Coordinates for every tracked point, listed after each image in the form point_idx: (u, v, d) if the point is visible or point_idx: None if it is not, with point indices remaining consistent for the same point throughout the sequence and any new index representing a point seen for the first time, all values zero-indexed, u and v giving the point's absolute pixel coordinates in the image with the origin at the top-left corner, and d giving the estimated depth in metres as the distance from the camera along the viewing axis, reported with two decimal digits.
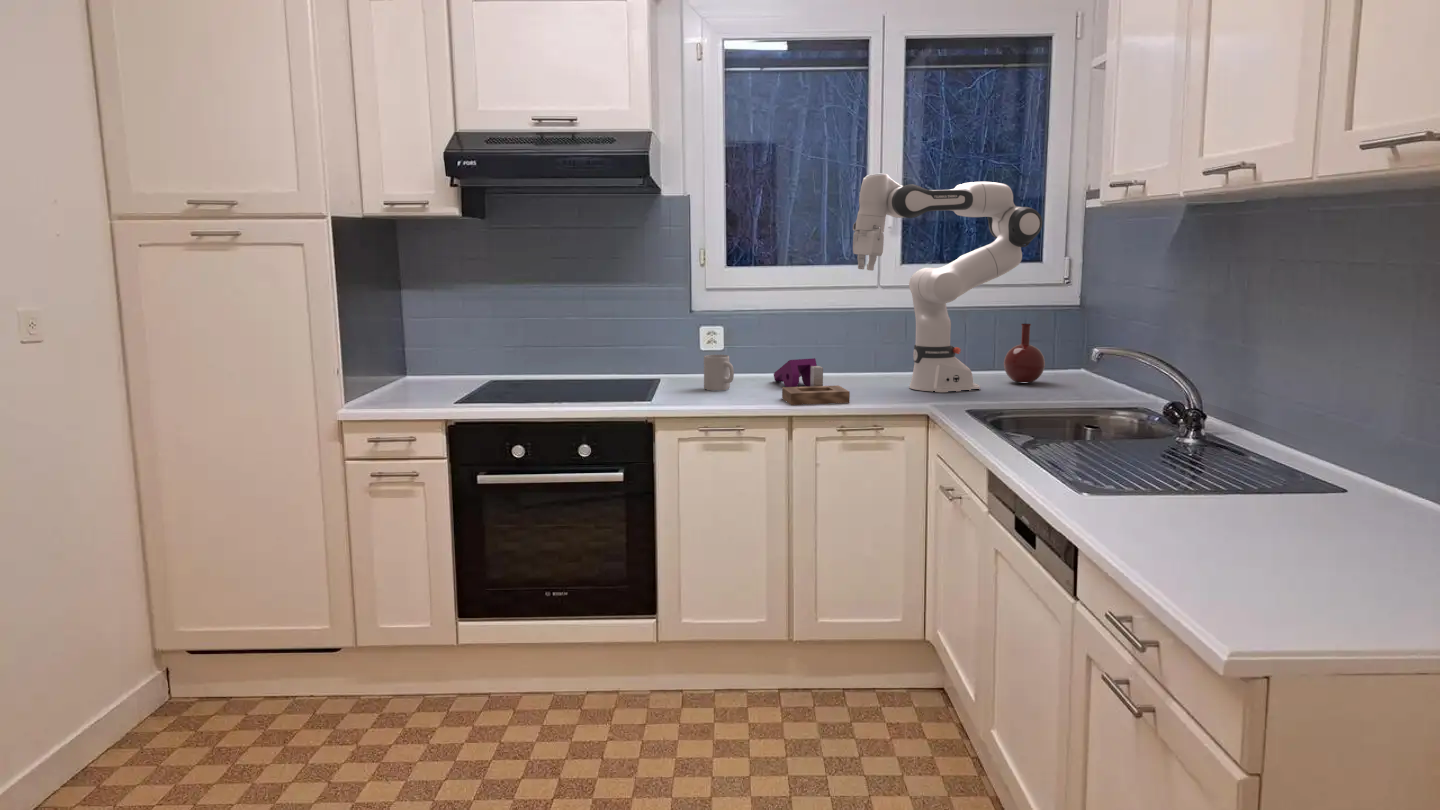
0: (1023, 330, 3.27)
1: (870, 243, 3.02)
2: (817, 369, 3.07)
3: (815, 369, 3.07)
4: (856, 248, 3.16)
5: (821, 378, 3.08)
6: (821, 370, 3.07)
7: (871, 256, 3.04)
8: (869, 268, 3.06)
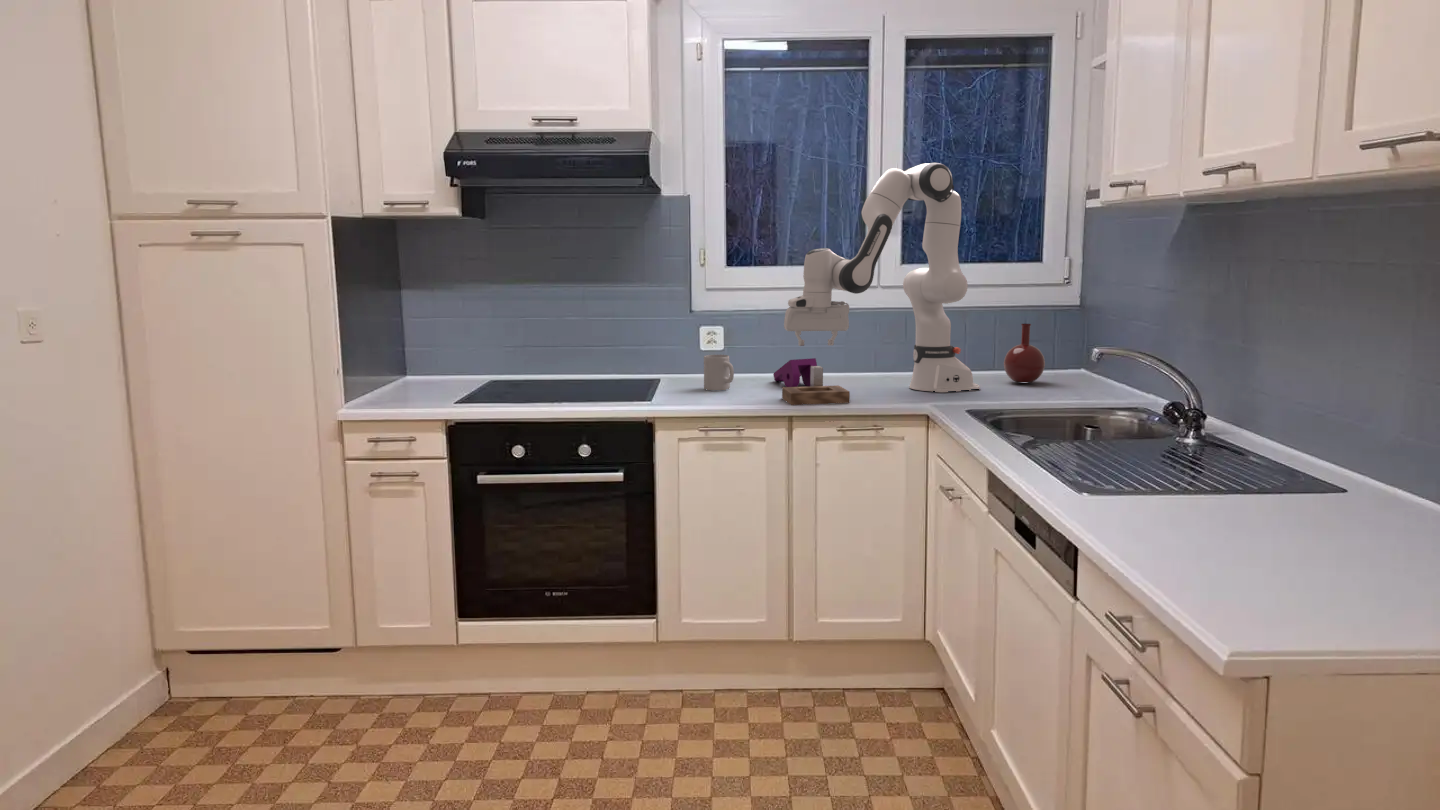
0: (1023, 330, 3.27)
1: (842, 319, 3.06)
2: (817, 369, 3.07)
3: (815, 369, 3.07)
4: (797, 325, 3.04)
5: (821, 378, 3.08)
6: (821, 370, 3.07)
7: None
8: None
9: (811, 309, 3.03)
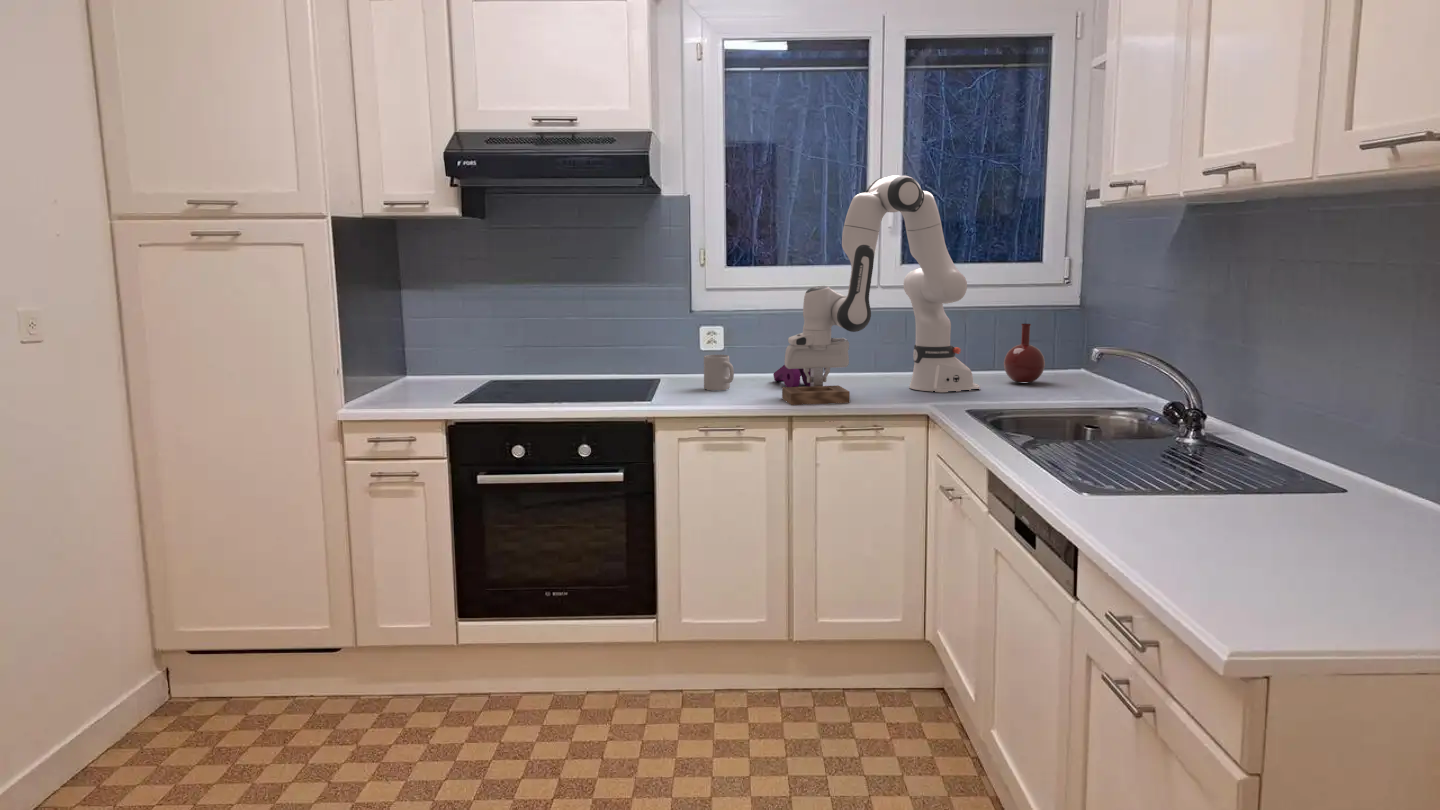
0: (1023, 330, 3.27)
1: (842, 356, 3.08)
2: (817, 369, 3.07)
3: (815, 369, 3.07)
4: (798, 363, 3.06)
5: (821, 378, 3.08)
6: (821, 370, 3.07)
7: None
8: None
9: (811, 347, 3.05)
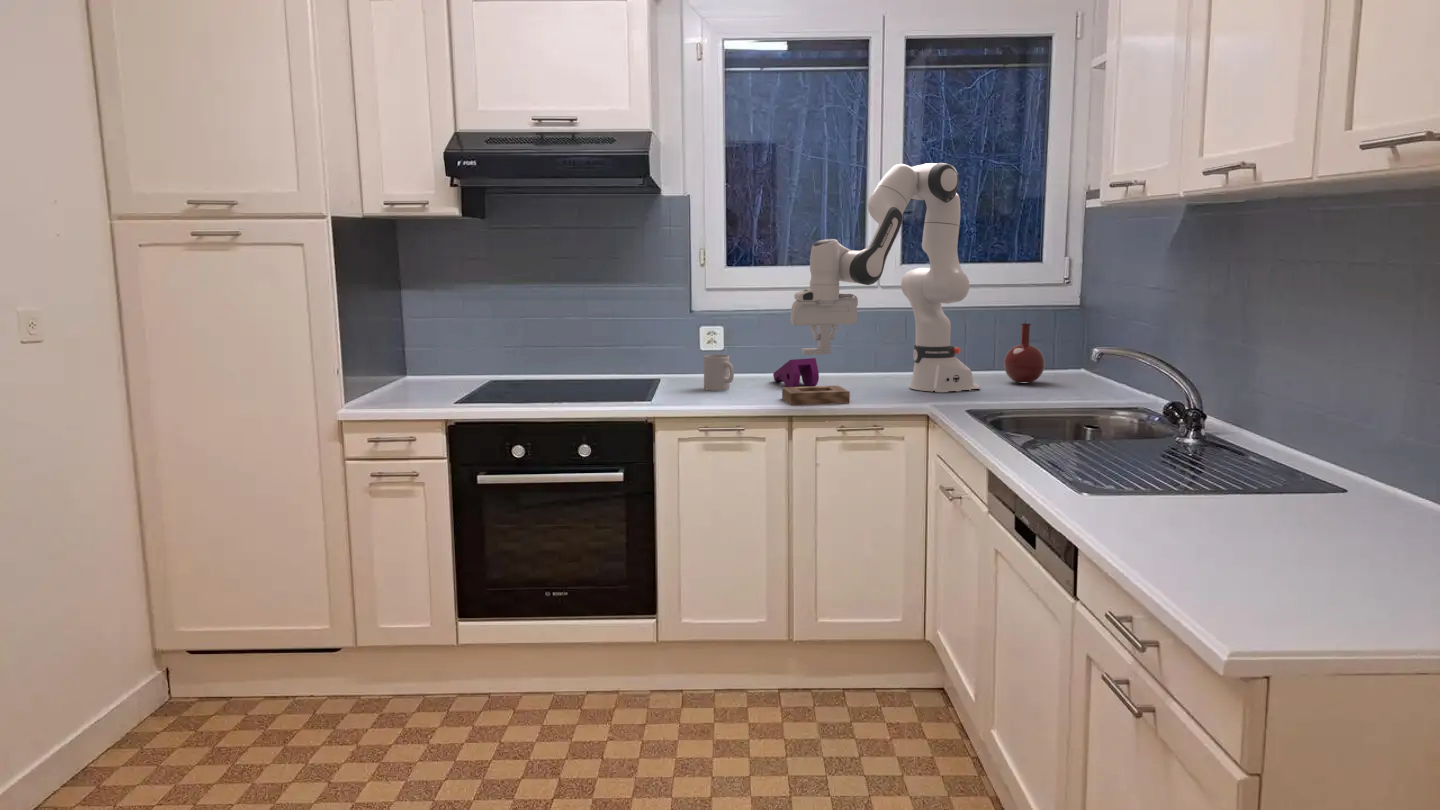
0: (1023, 330, 3.27)
1: (850, 312, 2.96)
2: (824, 326, 2.95)
3: (822, 326, 2.95)
4: (804, 319, 2.94)
5: (829, 335, 2.95)
6: (829, 327, 2.95)
7: None
8: None
9: (818, 302, 2.93)
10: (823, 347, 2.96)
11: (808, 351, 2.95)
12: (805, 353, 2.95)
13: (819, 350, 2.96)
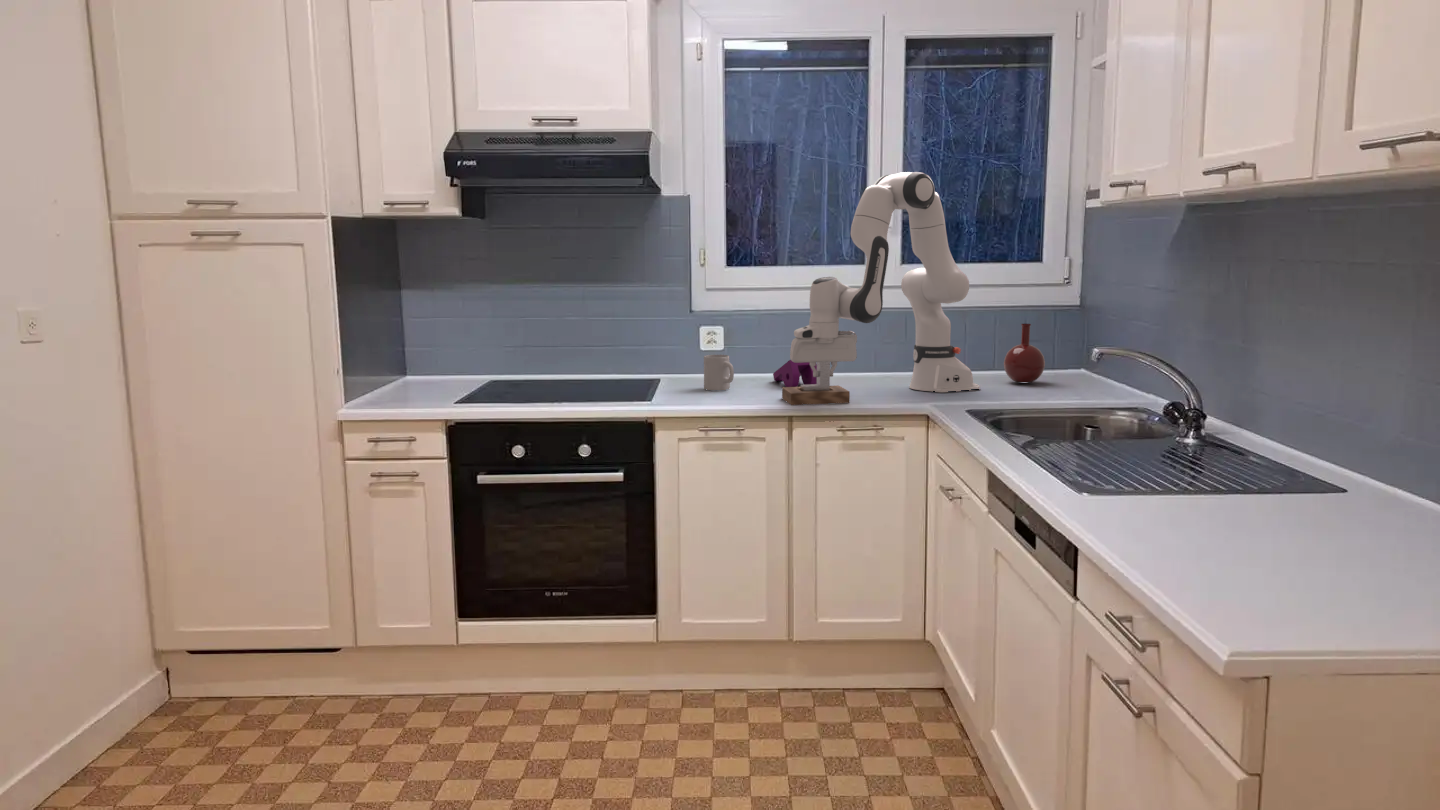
0: (1023, 330, 3.27)
1: (849, 349, 2.97)
2: (824, 363, 2.97)
3: (822, 363, 2.97)
4: (804, 356, 2.95)
5: (828, 372, 2.97)
6: (828, 364, 2.97)
7: None
8: None
9: (818, 340, 2.95)
10: (822, 384, 2.98)
11: (807, 388, 2.97)
12: (804, 390, 2.97)
13: (818, 387, 2.98)
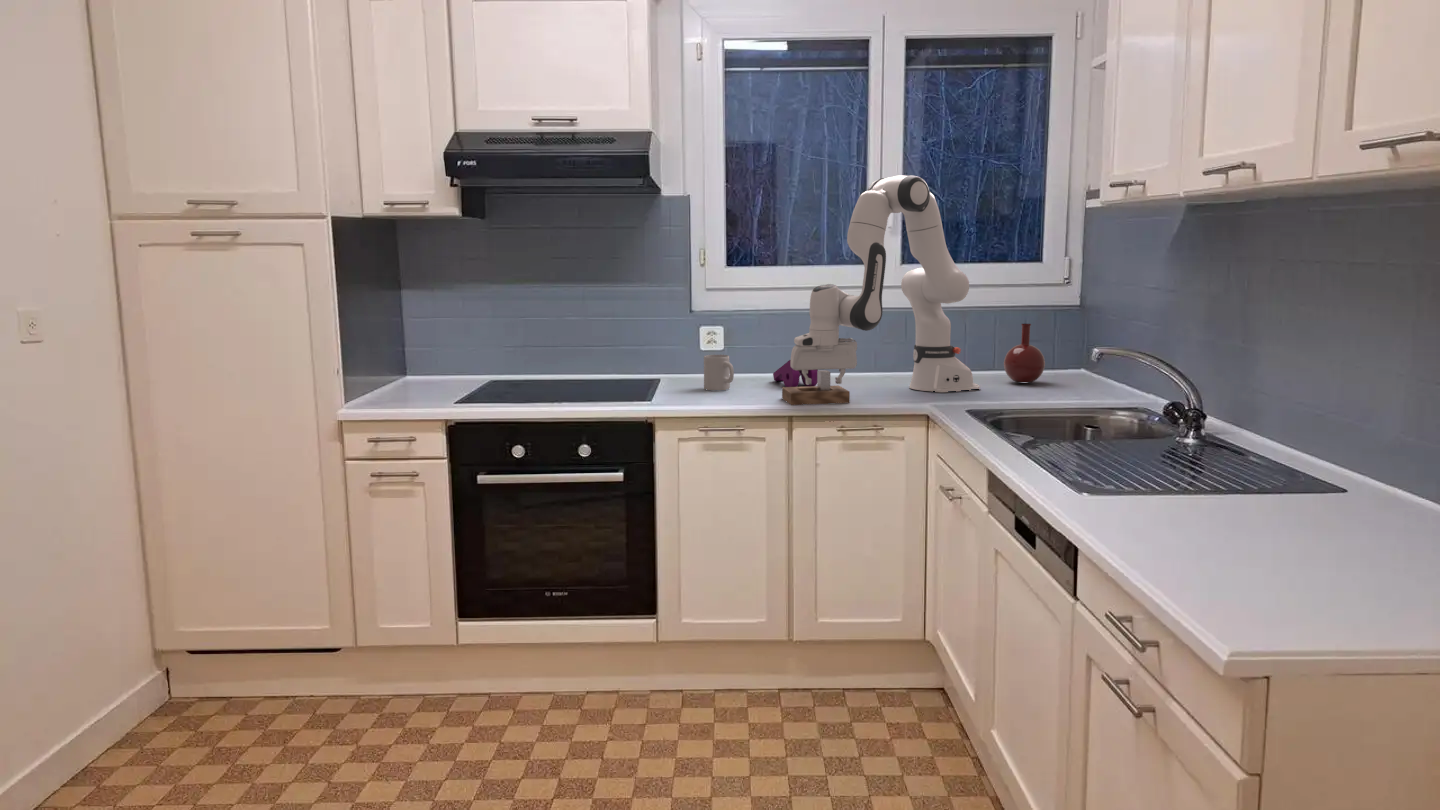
0: (1023, 330, 3.27)
1: (849, 357, 2.98)
2: (824, 374, 2.97)
3: (822, 374, 2.97)
4: (804, 364, 2.96)
5: (828, 383, 2.98)
6: (828, 375, 2.98)
7: None
8: None
9: (818, 347, 2.95)
10: None
11: None
12: None
13: None
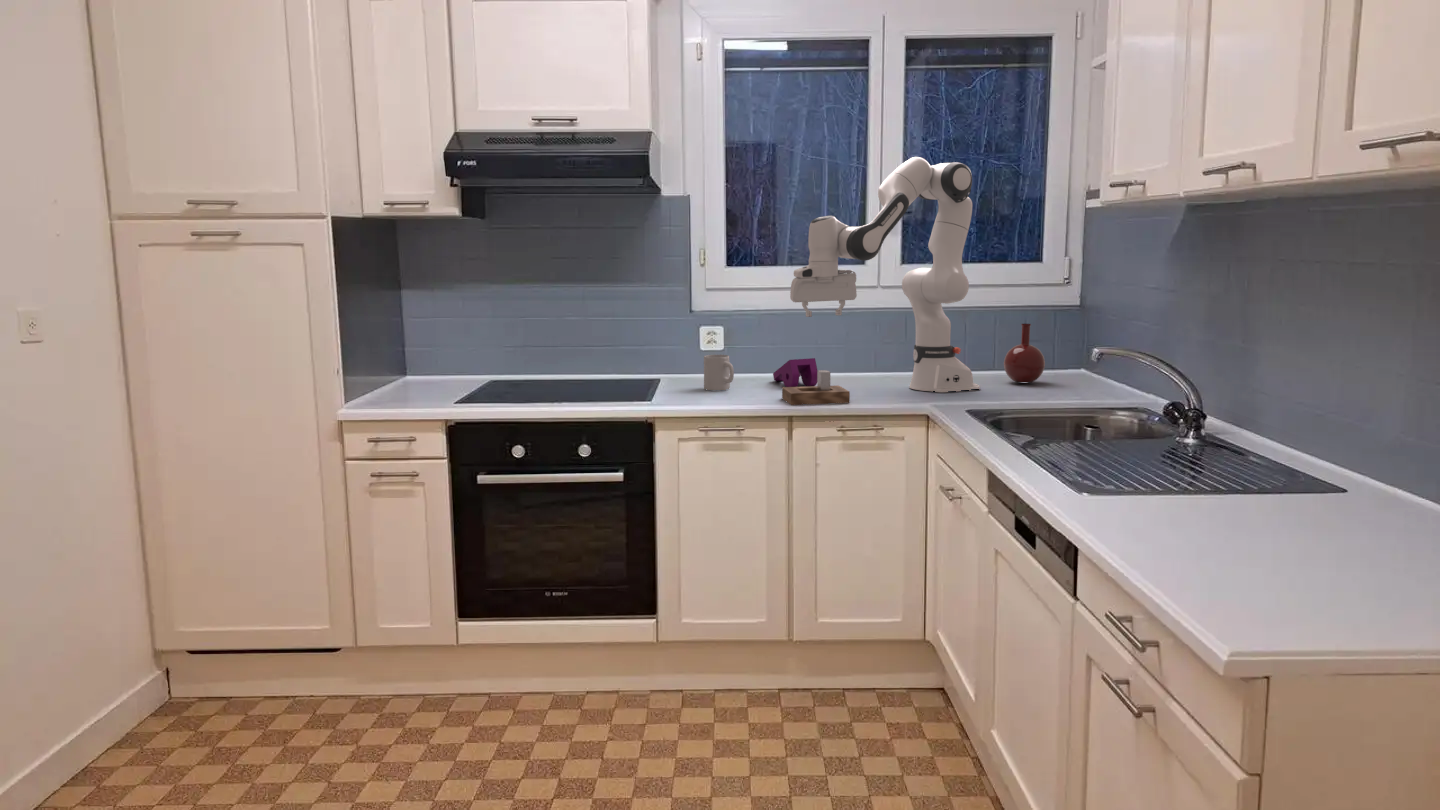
0: (1023, 330, 3.27)
1: (849, 288, 2.99)
2: (824, 374, 2.97)
3: (822, 374, 2.97)
4: (804, 296, 2.97)
5: (828, 383, 2.98)
6: (828, 375, 2.98)
7: None
8: None
9: (818, 279, 2.96)
10: None
11: None
12: None
13: None
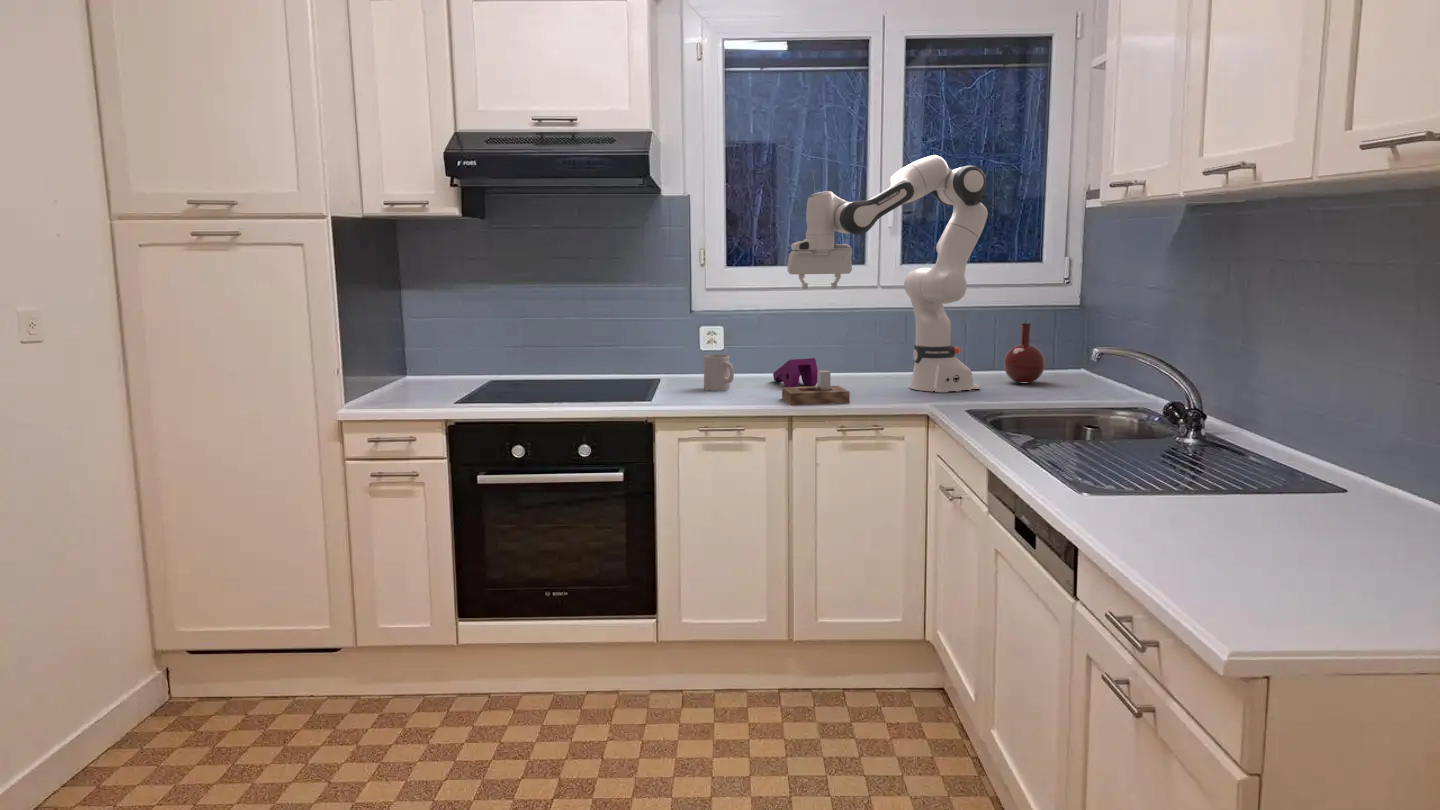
0: (1023, 330, 3.27)
1: (845, 262, 3.08)
2: (824, 374, 2.97)
3: (822, 374, 2.97)
4: (801, 268, 3.06)
5: (828, 383, 2.98)
6: (828, 375, 2.98)
7: None
8: None
9: (814, 252, 3.06)
10: None
11: None
12: None
13: None
